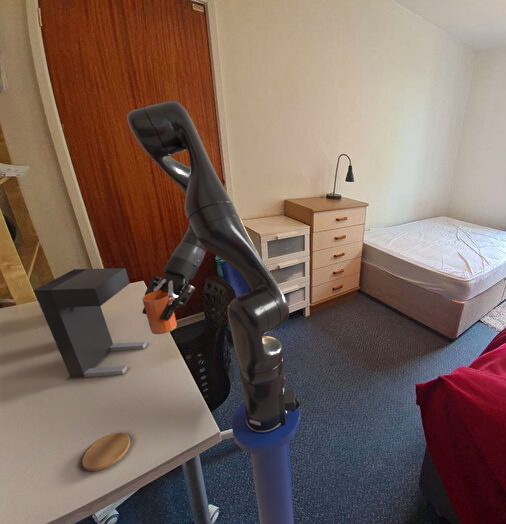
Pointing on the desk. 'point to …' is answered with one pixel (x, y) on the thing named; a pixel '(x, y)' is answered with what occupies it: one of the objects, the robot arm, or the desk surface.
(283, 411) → the robot arm
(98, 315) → the coffee maker
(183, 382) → the desk surface
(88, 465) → the coaster
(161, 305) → the cup
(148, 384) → the desk surface
